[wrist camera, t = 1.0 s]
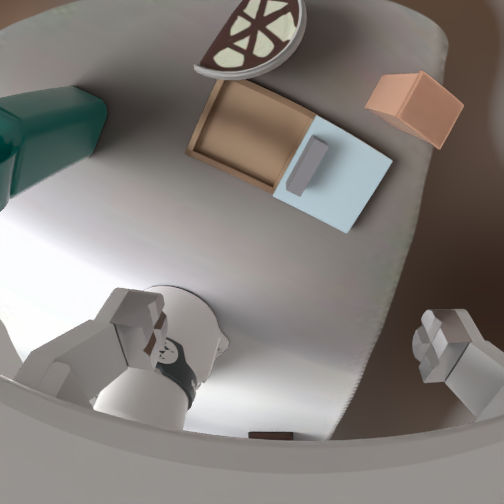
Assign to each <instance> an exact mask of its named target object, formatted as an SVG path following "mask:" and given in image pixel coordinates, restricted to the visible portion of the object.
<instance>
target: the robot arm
mask: <svg viewBox="0 0 504 504" xmlns="http://www.w3.org/2000/svg"><path fill="white" fill-rule="evenodd" d="M421 321H422V324H423V325H422V326H420V327H419V328H418V329H417V330H416V332H415V334H414V337H413V343H412V347H413V353H414V356H415V358H416V359H418V360H419V361H420V362H421V363H420V366H419V370H420V373H421V376H422V378H423V381H424V383H432V382H445V384H446V385H447V386H448V387H449V388H450V389H451V390H452V391H453V392H454V393H455V394H456V395H457V397H458V398H459V399H460V400H461V401H462V402H463V403H464V404H465V405H466V407H467V408H468V409H469V410H470V411H471V412H472V413H473V414H474V415H475V417H476V419H475V420H474V421H473V422H472V423H470V424H465V425H461V426H456V427H451V428H446V429H440V430H435V431H429V432H422V433H416V434H409V435H402V436H392V437H384V438H372V439H358V440H337V441H285V440H264V439H250V438H238V437H228V436H219V435H211V434H204V433H197V432H190V431H184V430H183V426H184V422H185V417H186V413H187V411H188V410H189V409H190V408H191V405H192V402H193V401H194V398H195V395H196V390H198V388H199V387H200V385H201V383H202V382H203V383H204V382H205V381H206V380H207V378H209V376H210V374H211V371H212V367H213V364H214V360H215V359H217V358H218V357H219V356H220V355H221V354H222V353H223V352H224V351H225V350H227V348H228V345H229V341H228V339H227V338H226V337H225V335H224V334H223V333H222V332H221V331H220V329H219V326H218V322H217V319H216V317H215V315H214V313H213V312H212V310H211V309H210V308H209V307H208V305H207V304H206V303H204V302H203V301H202V300H201V299H200V298H198V297H197V296H195V295H193V294H191V293H189V292H187V291H185V290H182V289H179V288H175V287H170V286H156V287H151V288H148V289H145V290H143V291H140V290H133V289H125V288H116V289H114V290H113V291H112V293H111V294H110V296H109V297H108V299H107V300H106V302H105V303H104V305H103V307H102V308H101V310H100V311H99V313H98V314H97V316H96V317H95V319H94V320H88V321H86V322H84V323H82V324H81V325H79V326H77V327H75V328H73V329H71V330H70V331H68V332H66V333H64V334H62V335H61V336H59V337H57V338H55V339H53V340H51V341H50V342H48V343H46V344H44V345H42V346H41V347H39V348H37V349H35V350H33V351H32V352H31V353H30V354H29V356H28V357H27V359H26V360H25V362H24V363H23V365H22V366H21V368H20V369H19V371H18V373H17V374H16V376H15V377H14V379H13V380H11V379H9V378H6V377H4V376H2V375H0V504H504V352H502V351H501V350H499V349H498V348H497V347H495V346H494V345H493V344H491V343H490V342H489V341H484V339H483V337H482V335H481V334H480V332H479V330H478V329H477V327H476V325H475V323H474V322H473V320H472V319H471V317H470V316H469V314H468V312H467V311H466V310H464V309H452V310H427V311H426V312H425V313H424V314H423V316H422V319H421ZM99 392H100V394H99V396H98V398H97V400H96V402H95V405H94V407H92V405H91V403H90V402H89V401H90V400H91V399H92V398H93V397H95V396H96V395H97V394H98V393H99Z"/></svg>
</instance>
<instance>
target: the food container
mask: <svg viewBox="0 0 504 504" xmlns="http://www.w3.org/2000/svg"><path fill="white" fill-rule="evenodd" d="M306 23H307V11H306V6H305V2H304V0H243V1H242V2H241V3H240V4H239V6H238V7H237V8H236V9H235V11H234V12H233V13H232V15H231V16H230V18H229V19H228V21H227V22H226V24H225V25H224V27H223V28H222V30H221V31H220V33H219V34H218V36H217V37H216V39H215V40H214V42H213V43H212V45H211V46H210V48H209V49H208V51H207V53H206V54H205V56H204V57H203V59H202V60H201V62H200V64H198V65H193V66H195V67H194V70H195V71H196V72H197V73H199V74H202V75H204V76H207V77H211V78H215V79H221V80H242V79H249V78H253V77H257V76H260V75H263V74H265V73H267V72H269V71H272V70H273V69H275V68H276V67H278V66H280V65H281V64H282V63H283V62H285V61H286V60H287V59H288V58H289V57H290V56H291V55H292V54H293V53H294V51H295V50H296V49H297V47H298V45H299V44H300V42H301V40H302V38H303V35H304V33H305V28H306Z"/></svg>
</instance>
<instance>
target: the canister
mask: <svg viewBox="0 0 504 504" xmlns="http://www.w3.org/2000/svg"><path fill="white" fill-rule="evenodd" d="M463 107H464V105H463V104H462V103H461V102H460V101H459V100H458V99H456V98H455V97H454V96H453V95H452V94H451V93H450V92H448V91H447V90H446V89H445V88H444V87H443V86H441V85H440V84H439V83H438V82H436V81H435V80H434V79H433V78H431V77H430V76H429V75H428V74H426V73H425V72H424V71H419V73H413V74H392V75H382V77H381V79H380V81H379V82H378V84H377V86H376V88H375V90H374V91H373V93H372V95H371V97H370V99H369V100H368V102H367V104H366V106H365V108H366V109H368V110H369V111H371V112H373V113H374V114H376V115H377V116H379V117H380V118H382V119H383V120H385V121H386V122H388V123H389V124H391V125H392V126H394V127H395V128H397V129H399V130H402V131H404V132H406V133H409V134H411V135H413V136H416V137H418V138H420V139H422V140H425V141H427V142H429V143H431V144H432V145H433V146H435V147H436V148H437V149H441V147H442V145H443V143H444V141H445V140H446V138H447V136H448V134H449V133H450V131H451V129H452V127H453V125H454V123H455V122H456V120H457V118H458V116H459V114H460V112H461V111H462V109H463Z"/></svg>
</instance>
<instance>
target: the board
mask: <svg viewBox="0 0 504 504" xmlns="http://www.w3.org/2000/svg"><path fill="white" fill-rule="evenodd" d="M316 115H317V116H319V117H321V116H320V115H318V114H316V113H314V112H312V111H310V110H308V109H306V108H304V107H303V106H301V105H299V104H297V103H295V102H293V101H291V100H289V99H287V98H285V97H283V96H280V95H278V94H276V93H274V92H272V91H270V90H268V89H266V88H263V87H261V86H259V85H257V84H255V83H252V82H250V81H248V80H245V79H242V80H221V79H217V81H216V84H215V86H214V88H213V90H212V92H211V94H210V96H209V99H208V101H207V103H206V105H205V107H204V110H203V112H202V114H201V116H200V119H199V121H198V123H197V125H196V128H195V130H194V132H193V135H192V137H191V139H190V142H189V144H188V147H187V149H186V152H185V154H186V155H188V156H191V157H193V158H195V159H197V160H200V161H202V162H204V163H206V164H209V165H211V166H213V167H215V168H218V169H220V170H222V171H224V172H226V173H229V174H231V175H233V176H235V177H237V178H240V179H242V180H244V181H246V182H248V183H250V184H252V185H254V186H257V187H259V188H261V189H263V190H265V191H267V192H269V193H271V194H273V193H274V191H275V190H276V188H277V186H278V184H279V182H280V180H281V179H282V177H283V175H284V173H285V171H286V169H287V167H288V166H289V164H290V162H291V160H292V158H293V156H294V155H295V153H296V151H297V149H298V147H299V145H300V144H301V142H302V140H303V138H304V136H305V134H306V133H307V131H308V129H309V127H310V125H311V123H312V122H313V120H314V118H315V116H316ZM321 118H323V117H321ZM323 119H325V118H323ZM325 120H326V121H328V122H330V121H329V120H327V119H325ZM330 123H332V122H330ZM332 124H334V123H332ZM334 125H335V126H337V127H339V126H338V125H336V124H334ZM339 128H341V127H339ZM341 129H342V130H344V129H343V128H341ZM344 131H346V130H344ZM346 132H347V133H349V134H351V133H350V132H348V131H346ZM351 135H353V134H351ZM353 136H354V137H356V136H355V135H353ZM356 138H358V137H356ZM358 139H359V140H361V139H360V138H358ZM361 141H363V140H361ZM363 142H364V143H366V142H365V141H363ZM366 144H367V145H369V144H368V143H366ZM369 146H371V145H369ZM371 147H372V148H374V147H373V146H371ZM374 149H375V150H377V149H376V148H374ZM377 151H378V152H380V151H379V150H377ZM380 153H382V152H380ZM382 154H383V155H385V154H384V153H382ZM385 156H386V157H388V156H387V155H385ZM388 158H389V159H391V158H390V157H388ZM391 160H392V159H391Z"/></svg>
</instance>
